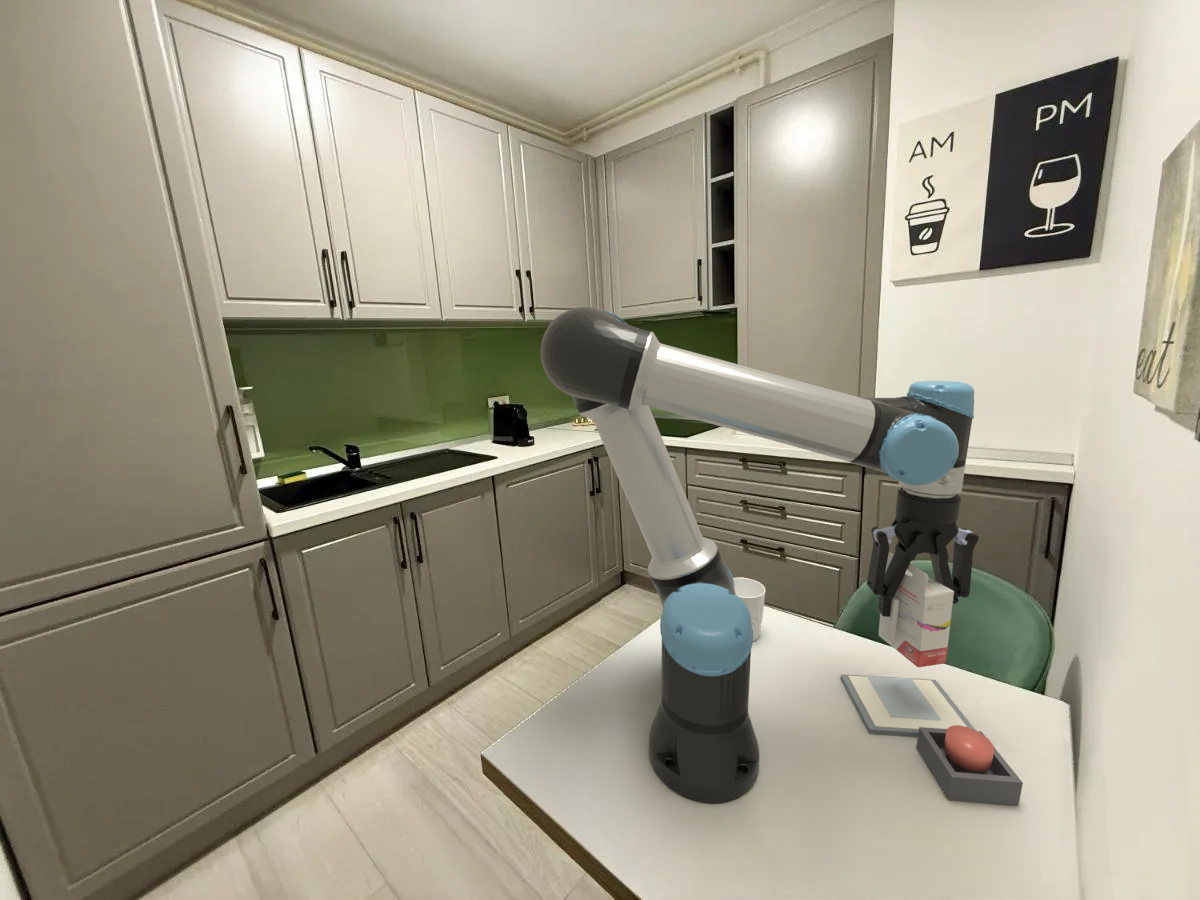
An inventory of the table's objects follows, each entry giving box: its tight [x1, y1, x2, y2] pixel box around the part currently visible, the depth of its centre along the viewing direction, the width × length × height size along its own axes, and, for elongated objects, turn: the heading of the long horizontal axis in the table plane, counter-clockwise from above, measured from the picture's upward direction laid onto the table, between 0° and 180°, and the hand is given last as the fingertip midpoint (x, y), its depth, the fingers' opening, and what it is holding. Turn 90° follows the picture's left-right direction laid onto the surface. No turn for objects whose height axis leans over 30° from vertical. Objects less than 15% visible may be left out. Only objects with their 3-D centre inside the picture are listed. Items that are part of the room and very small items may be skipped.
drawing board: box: [840, 673, 976, 738], centre depth 76 cm, size 15×12×1 cm
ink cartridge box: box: [878, 552, 954, 668], centre depth 73 cm, size 9×5×15 cm, turn 8°
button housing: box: [915, 727, 1024, 807], centre depth 64 cm, size 8×8×4 cm
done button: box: [944, 725, 995, 773], centre depth 64 cm, size 5×5×2 cm
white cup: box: [733, 577, 766, 642], centre depth 95 cm, size 8×8×10 cm
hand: (910, 634), depth 75 cm, fingers closed on ink cartridge box, 6 cm apart
